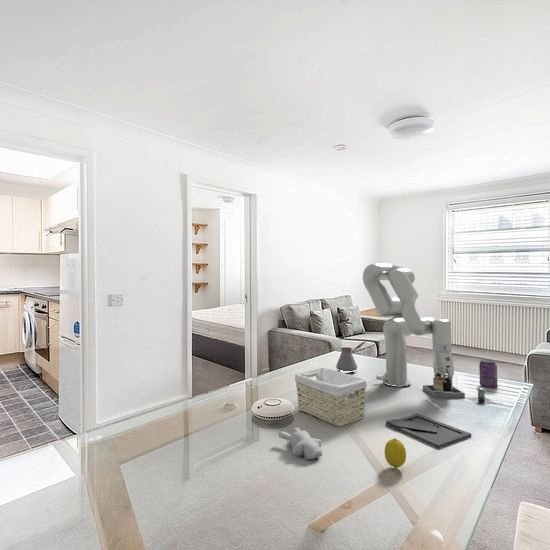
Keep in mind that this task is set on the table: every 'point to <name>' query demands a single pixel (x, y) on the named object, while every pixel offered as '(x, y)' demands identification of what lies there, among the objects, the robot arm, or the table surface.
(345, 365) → the coffee pot
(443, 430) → the picture frame
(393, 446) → the lemon
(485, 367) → the beverage can
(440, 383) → the maple ring
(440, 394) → the charcoal tray
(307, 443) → the bunny figurine
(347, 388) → the storage basket
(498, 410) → the table surface
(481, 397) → the grey knobbed square plate
